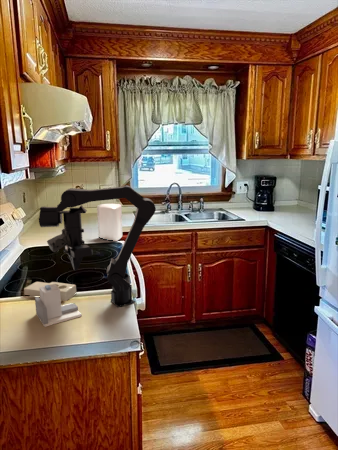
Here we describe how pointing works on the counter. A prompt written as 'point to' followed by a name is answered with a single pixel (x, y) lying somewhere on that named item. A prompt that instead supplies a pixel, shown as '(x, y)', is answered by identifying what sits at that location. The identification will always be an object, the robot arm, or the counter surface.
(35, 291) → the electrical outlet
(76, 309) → the board
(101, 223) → the pale rounded upright block
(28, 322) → the counter surface
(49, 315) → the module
